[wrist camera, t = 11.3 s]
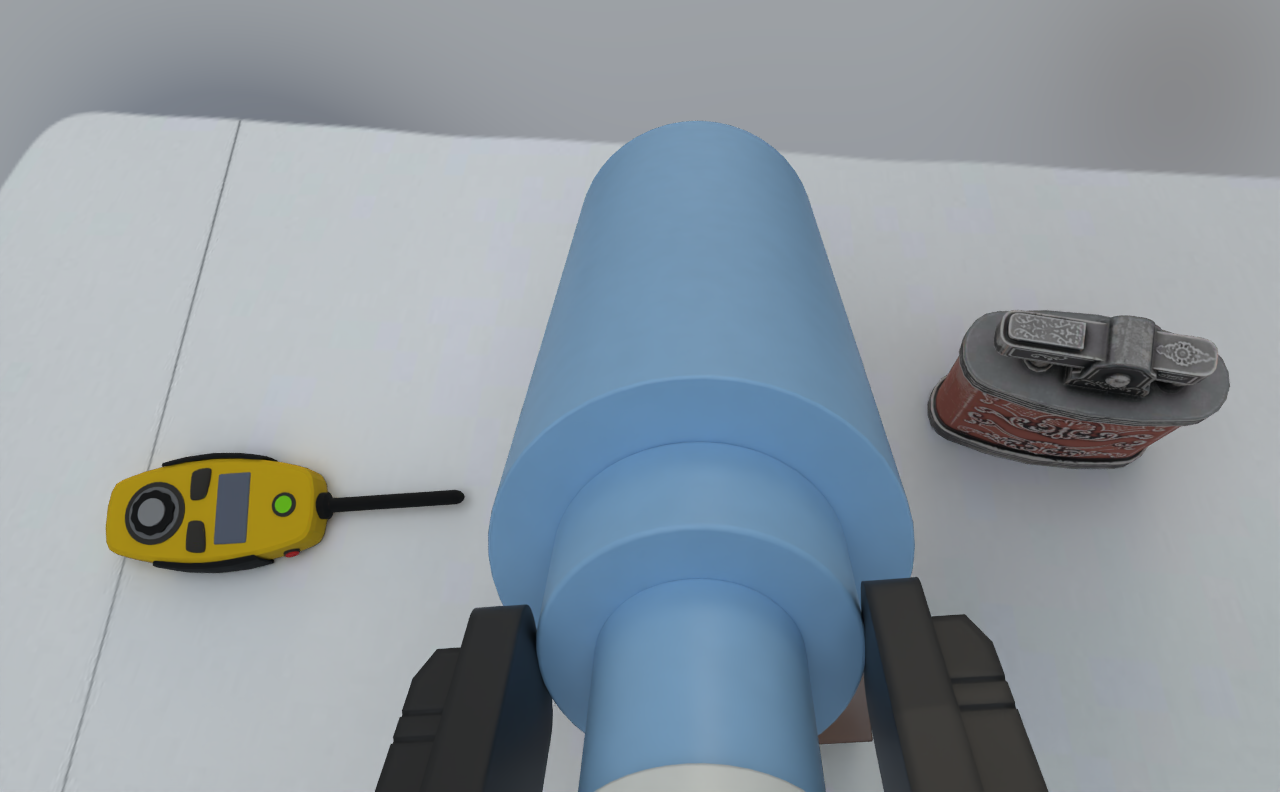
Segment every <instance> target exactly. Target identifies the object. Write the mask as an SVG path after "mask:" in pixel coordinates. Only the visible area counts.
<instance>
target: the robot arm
mask: <svg viewBox="0 0 1280 792" xmlns="http://www.w3.org/2000/svg"><path fill="white" fill-rule="evenodd" d="M861 614H862V618H863V623H864V635H865V667H864V671H863V674H864V685H865V693H866V701H867V707H868V713H869V719H870V724H871V729H872V734H873V739H874V744H875V749H876V754H877V759H878V764H879V768H880V773H881V778H882V783H883V788H884V792H1048V789H1047V787H1046V784H1045V781H1044V778H1043V776H1042V773H1041V770H1040V768H1039V765H1038V762H1037V760H1036V757H1035V754H1034V752H1033V749H1032V746H1031V744H1030V741H1029V738H1028V736H1027V733H1026V730H1025V728H1024V725H1023V722H1022V720H1021V717H1020V714H1019V712H1018V709H1016V707H1015V701H1014V698H1013V696H1012V693H1011V690H1010V688H1009V685H1008V682H1007V681H1005V674H1004V672H1003V669H1002V666H1001V664H1000V661H999V658H998V656H997V653H996V650H995V648H994V645H993V642H992V641H991V640H990V639H989V638H988V637H987V636H986V635H985V634H984V633H983V632H982V631H981V630H980V629H979V628H978V627H977V626H976V625H975V624H974V623H973V622H972V621H971V620H970V619H969V618H968V617H967V616H966V615H965V614H963V615H948V616H933V617H931V614H930V611H929V608H928V605H927V601H926V598H925V595H924V592H923V588H922V585H921V582H920V580H919V579H918V578H917V577H912V578H898V579H884V580H870V581H862V582H861ZM536 633H537V629H536V625H535V620H534V616H533V613H532V610H531V608H530V606H529V605H527V604H524V605H510V606H496V607H483V608H475V609H474V610H473V611H472V613H471V615H470V618H469V621H468V624H467V628H466V631H465V635H464V638H463V642H462V645H461V648H447V649H437V650H436V651H435V652H434V654H433V655H432V656H431V657H430V658H429V660H428V661H427V662H426V663H425V664H424V666H423V667H422V668H421V669H420V670H419V672H418V673H417V674H416V675H415V676H414V678H413V679H412V682H411V685H410V688H409V691H408V694H407V697H406V700H405V703H404V706H403V709H402V717H400V718H399V721H398V724H397V727H396V730H395V733H394V736H393V739H394V742H393V744H391V745H390V748H389V751H388V754H387V757H386V760H385V763H384V766H383V769H382V772H381V775H380V778H379V781H378V784H377V787H376V790H375V792H542V790H543V784H544V778H545V771H546V765H547V759H548V752H549V746H550V740H551V733H552V720H553V709H552V697H551V695H550V693H549V691H548V689H547V687H546V686H545V683H544V681H543V678H542V675H541V671H540V668H539V663H538V657H537V652H536Z"/></svg>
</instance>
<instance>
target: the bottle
mask: <svg viewBox="0 0 1280 792" xmlns="http://www.w3.org/2000/svg"><path fill="white" fill-rule="evenodd" d="M914 549H915V541H914V528H913V520H912V516H911V513H910V509H909V505H908V501H907V497H906V494H905V491H904V488H903V485H902V482H901V479H900V476H899V473H898V470H897V467H896V464H895V461H894V458H893V455H892V452H891V449H890V446H889V443H888V440H887V436H886V433H885V430H884V427H883V424H882V421H881V418H880V415H879V412H878V409H877V406H876V403H875V400H874V397H873V394H872V391H871V388H870V385H869V382H868V379H867V376H866V372H865V369H864V366H863V363H862V360H861V357H860V354H859V351H858V348H857V345H856V342H855V339H854V336H853V333H852V330H851V327H850V324H849V321H848V318H847V315H846V312H845V308H844V305H843V302H842V299H841V296H840V293H839V290H838V287H837V284H836V281H835V278H834V275H833V272H832V269H831V266H830V263H829V260H828V257H827V254H826V251H825V248H824V244H823V241H822V238H821V235H820V232H819V229H818V226H817V223H816V220H815V217H814V214H813V211H812V208H811V205H810V202H809V199H808V196H807V194H806V191H805V189H804V186H803V184H802V182H801V180H800V179H799V177H798V175H797V174H796V172H795V170H794V169H793V168H792V167H791V165H790V164H789V163H788V162H787V160H786V159H785V158H784V157H783V156H782V155H781V154H780V153H779V152H778V151H777V150H776V149H774V148H773V147H772V146H770V145H769V144H768V143H766V142H765V141H764V140H762V139H760V138H759V137H757V136H755V135H753V134H751V133H749V132H747V131H745V130H742V129H740V128H736V127H734V126H731V125H727V124H722V123H717V122H707V121H686V122H679V123H673V124H668V125H665V126H662V127H658V128H655V129H652V130H650V131H648V132H646V133H644V134H642V135H640V136H637V137H636V138H634V139H633V140H631V141H630V142H628V143H627V144H625V145H624V146H622V147H621V148H620V149H619V150H618V151H617V152H616V153H614V154H613V155H612V156H611V157H610V158H609V160H608V161H607V162H606V163H605V164H604V165H603V166H602V168H601V169H600V171H599V172H598V174H597V175H596V177H595V178H594V180H593V181H592V184H591V186H590V188H589V190H588V192H587V194H586V197H585V200H584V203H583V206H582V210H581V213H580V216H579V220H578V223H577V226H576V230H575V233H574V237H573V240H572V243H571V247H570V250H569V253H568V257H567V260H566V263H565V267H564V270H563V273H562V277H561V280H560V284H559V287H558V290H557V294H556V297H555V300H554V304H553V307H552V310H551V314H550V317H549V320H548V324H547V327H546V330H545V334H544V337H543V341H542V344H541V347H540V351H539V354H538V357H537V361H536V364H535V367H534V371H533V374H532V377H531V381H530V384H529V387H528V391H527V394H526V398H525V401H524V404H523V408H522V411H521V414H520V418H519V421H518V424H517V428H516V431H515V434H514V438H513V441H512V444H511V448H510V451H509V455H508V458H507V461H506V465H505V468H504V471H503V475H502V478H501V481H500V485H499V488H498V491H497V495H496V498H495V502H494V505H493V508H492V512H491V519H490V525H489V532H488V552H489V561H490V566H491V572H492V577H493V580H494V583H495V586H496V589H497V592H498V595H499V597H500V600H501V602H502V604H503V606H510V605H524V604H527V605H529V606H530V608H531V610H532V613H533V616H534V620H535V625H536V629H537V633H536V652H537V657H538V663H539V668H540V671H541V675H542V678H543V681H544V683H545V686H546V687H547V689H548V691H549V693H550V695H551V697H552V699H553V700H554V702H555V703H556V704H557V706H558V707H559V708H560V710H561V711H562V712H563V714H564V715H565V716H566V717H567V718H568V719H569V720H570V721H571V722H572V723H573V724H574V725H575V726H576V727H578V728H579V729H580V730H581V731H583V732H584V733H585V738H584V747H583V755H582V763H581V772H580V780H579V789H578V792H826V790H825V783H824V775H823V768H822V761H821V754H820V747H819V740H818V735H820V734H821V733H822V732H823V731H825V730H826V729H827V728H828V727H829V726H830V725H831V724H832V723H834V722H835V721H836V719H837V718H838V717H839V716H840V715H841V714H842V712H843V711H844V710H845V709H846V707H847V706H848V704H849V703H850V701H851V699H852V698H853V696H854V695H855V692H856V690H857V688H858V685H859V683H860V681H861V678H862V675H863V671H864V667H865V635H864V623H863V618H862V614H861V582H862V581H870V580H884V579H898V578H910V577H911V573H912V569H913V560H914Z"/></svg>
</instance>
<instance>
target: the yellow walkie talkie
mask: <svg viewBox="0 0 1280 792" xmlns="http://www.w3.org/2000/svg"><path fill="white" fill-rule="evenodd" d="M162 466H163V467H161V468H158V469H154V470H150V471H147V472H144V473H141V474H138V475H135V476H132V477H129V478H127V479H125V480H122V481H121V482H119V483H118V484H116V486H115V488H114V489H113V491H112V494H111V497H110V501H109V505H108V512H107V521H106V542H107V545H108V547H109V549H110V550H111V551H113V552H114V553H116V554H118V555H121V556H125V557H128V558H132V559H136V560H141V561H146V562H151V563H153V566H155V567H158V568H164V569H170V570H176V571H183V572H196V573H223V572H231V571H239V570H246V569H252V568H256V567H260V566H264V565H268V564H271V563H274V560H273V559H275V558H279V557H282V556H286V557H293V556H296V555H298V554H299V553H300V551H302V550H305V549H307V548H310V547H312V546H314V545H316V544H317V543H319V542H320V541H321V539H322V537H323V536H324V533H325V528H326V524H327V519H330V518H331V517H332V515H333V512H344V511H360V510H375V509H390V508H406V507H421V506H436V505H451V504H458V503H461V502H462V501H463V500H464V497H465V496H464V494H463V493H462V492H461V491H458V490H448V491H433V492H418V493H404V494H389V495H374V496H359V497H344V498H333V497H332V495H331V494H330V493H329V492H328V491H327V484H326V482H325V480H324V478H323V477H322V475H320V474H318V473H317V472H315V471H312V470H310V469H308V468H305V467H301V466H297V465H292V464H288V463H283V462H278V461H277V460H275V459H273V458H270V457H267V456H261V455H254V454H244V453H212V454H204V455H197V456H190V457H185V458H181V459H176V460H172V461H169V462H165V463H163V464H162ZM164 466H165V467H164Z"/></svg>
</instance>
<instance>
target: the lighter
mask: <svg viewBox="0 0 1280 792" xmlns="http://www.w3.org/2000/svg"><path fill="white" fill-rule="evenodd" d="M1229 387H1230V383H1229V373H1228V370H1227V368H1226V366H1225V363H1224V361H1223V359H1222V358H1221V357H1220V356H1219V355H1218V350H1217V347H1216V346H1215V344H1214V343H1213V342H1211V341H1210V340H1208V339H1204V338H1201V337H1194V336H1187V335H1181V334H1174V333H1171V332H1168V331H1165V330H1162V329H1161V328H1160V327H1159V326H1157V325H1155V323H1154V322H1153V321H1152V320H1149V319H1147V318H1142V317H1136V316H1114V317H1106V316H1102V315H1094V314H1082V313H1071V312H1059V311H1048V310H1042V311H1022V310H1012V311H997V312H993V313H988V314H985V315H983V316H982V317H980V318H979V319H977V320H976V321H975V322H974V323H973V324H972V326H971V327H970V328H969V330H968V331H967V333H966V334H965V336H964V338H963V340H962V344H961V347H960V350H959V357H958V359H957V360H956V362H955V364H954V365H953V367H952V369H951V370H950V372H949V374H948V375H946V376H945V377H943V378H942V379H941V380H940V381H939V382H938V384H937V385H936V386H935V388H934V389H933V391H932V393H931V395H930V398H929V402H928V417H929V420H930V423H931V425H932V427H933V428H934V429H935V431H936V432H937V433H938V434H939V435H941V436H942V437H944V438H946V439H947V440H950V441H953V442H956V443H958V444H961V445H964V446H967V447H969V448H972V449H975V450H978V451H980V452H983V453H986V454H990V455H994V456H998V457H1002V458H1006V459H1010V460H1014V461H1019V462H1023V463H1027V464H1034V465H1043V466H1052V467H1061V468H1071V469H1114V468H1119V467H1124V466H1126V465H1128V464H1129V463H1131V462H1133V461H1134V460H1136V459H1137V458H1139V457H1140V456H1141V455H1142V454H1143V453H1144V451H1145V450H1146V448H1147V447H1148V446H1149V445H1151V444H1152V443H1154V442H1156V441H1157V440H1159V439H1161V438H1162V437H1164V436H1166V435H1167V434H1169V433H1171V432H1172V431H1174V430H1176V429H1177V428H1179V427H1181V426H1188V425H1193V424H1198V423H1199V422H1201V421H1203V420H1204V419H1206V418H1208V417H1209V416H1211V415H1212V414H1214V413H1215V412H1217V411H1218V410H1219V409H1220V408H1221V406H1222V405H1223V403H1224V402H1225V401H1226V399H1227V395H1228V391H1229Z"/></svg>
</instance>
